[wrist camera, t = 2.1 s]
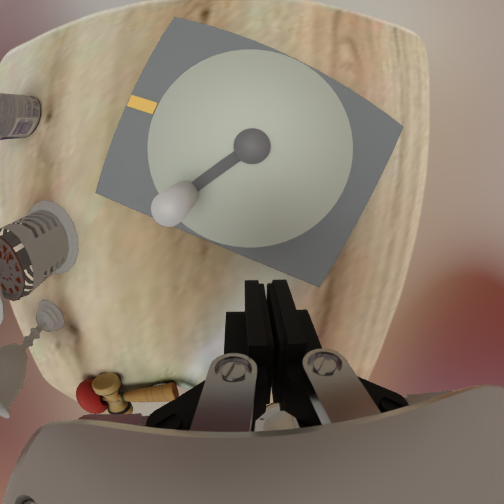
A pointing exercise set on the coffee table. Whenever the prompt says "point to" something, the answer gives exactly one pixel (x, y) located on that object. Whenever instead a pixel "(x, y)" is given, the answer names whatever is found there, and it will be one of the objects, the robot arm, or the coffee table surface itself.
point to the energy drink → (18, 115)
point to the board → (275, 256)
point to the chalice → (23, 355)
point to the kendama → (119, 395)
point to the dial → (248, 149)
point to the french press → (35, 250)
